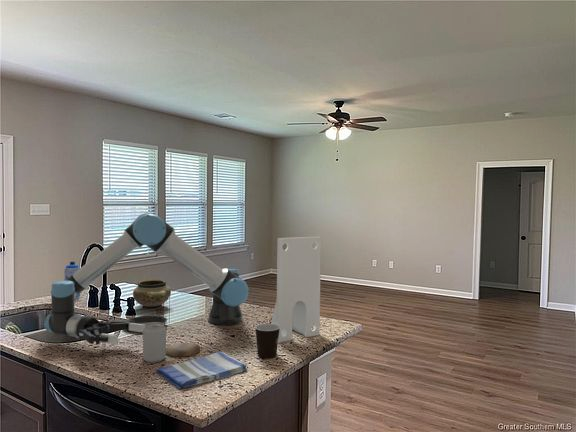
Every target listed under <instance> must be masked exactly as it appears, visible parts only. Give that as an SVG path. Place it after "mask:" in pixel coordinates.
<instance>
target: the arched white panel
mask: <svg viewBox="0 0 576 432" xmlns="http://www.w3.org/2000/svg"><path fill="white" fill-rule="evenodd" d="M314 243H315V247H313V245H314ZM276 245H277V252H276V253H277V254H276V255H277V257H276V261H277V263H276V265H277V266H276V267H277V268H276V299H275V300H276V301H275V305H274V309H273V312H272V318H271V323H270V324H275V325H278V326H280V330H279V338H278V344H279V343H283V342H288V341H293V331H295V332H297V333H300V334H302V335H304V337H305V338H309V337H314V336H319V335H320V323H321V321H320V319H321V318H320V316H321V315H320V314H321V270H322V269H321V268H322V267H321V266H322V263H321V262H322V259H321V258H322V257H321V255H322V236H303V237H301V236H300V237H278V238H277V244H276ZM284 245H286V248H285V249H284ZM313 325H314V328H313V329H311V328H312V326H313Z"/></svg>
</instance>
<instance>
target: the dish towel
mask: <svg viewBox="0 0 576 432" xmlns="http://www.w3.org/2000/svg"><path fill="white" fill-rule="evenodd" d="M155 371H156V372H157V373H158V375H160V376H161V375H162V378H164V379H165V380H166V381H167V380H168V381H167V382H168V383H170V384H172V385H173V386H175V388H177V389H178V390H179V391H180V389H181V390H184V389H187V387H188V388H191V386H192V387H195V386H199V385H198V384H200V385H203V384H206V383H209V382H211V381H215V380H219V379H224V378H227V377H229V376H231V377H232V376H233V375H235V374H239V373H242V372H246V371H248V365H247V364H246V363H243V361H240V360H238V359H236V358H234V357H232V356H230V355H228V354H227V353H226V352H223V351H216V352H213V353H211V354H209V355H206V356H202V357H197V358H194V359H190V360H186V361H183V362H180V363H176V364H174V365H169V366H164V367H159V368H157V369H156V370H155ZM183 388H184V389H183Z"/></svg>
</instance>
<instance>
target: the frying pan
mask: <svg viewBox="0 0 576 432" xmlns="http://www.w3.org/2000/svg"><path fill="white" fill-rule="evenodd" d="M130 320H132V321H133V323H136V324H144V325H146V324H148V323H152V322H161V323H164V326H165V325H166V323H167V321H168V318H167V317H165V316H160V315H141V316H133V317H131V318H128V319H126V320H125V321H130ZM134 332H136V331H134ZM136 333H137V332H136Z"/></svg>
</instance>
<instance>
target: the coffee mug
mask: <svg viewBox="0 0 576 432" xmlns="http://www.w3.org/2000/svg"><path fill="white" fill-rule="evenodd" d="M254 327H255V328H254V329H255V337H256V348H257V357H258V358H261V359H264V360H265V359H266V360H271V359H274V358H276V357H277V355H278V354H277V353H278V346H279V345H278V344H279V343H278V338H279V330H280V326H278V325H275V324H271V323H260V324H258V325H255V326H254Z"/></svg>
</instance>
